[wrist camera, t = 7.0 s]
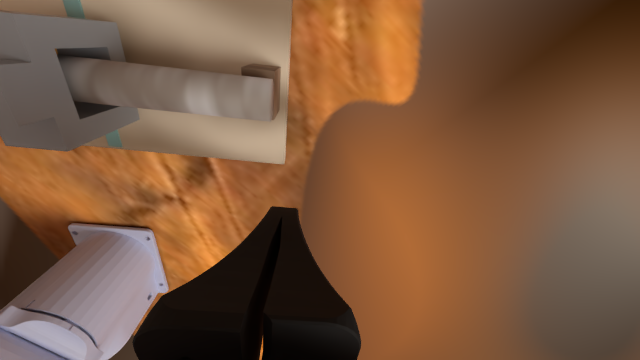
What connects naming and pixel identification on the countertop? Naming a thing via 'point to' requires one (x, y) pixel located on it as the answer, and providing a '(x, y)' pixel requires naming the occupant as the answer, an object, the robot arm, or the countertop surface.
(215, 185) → the countertop surface
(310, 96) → the countertop surface
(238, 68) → the pipe rig
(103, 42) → the sleeve
